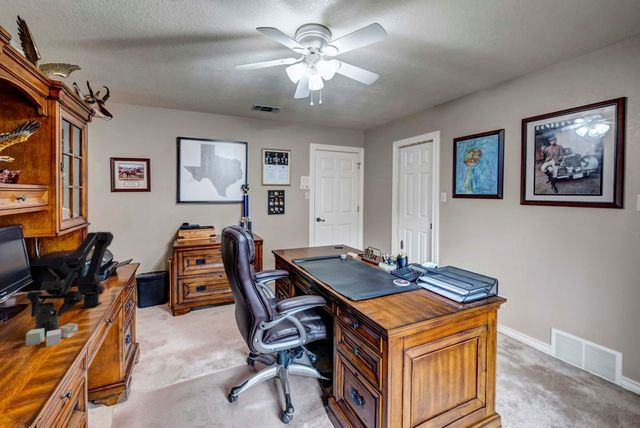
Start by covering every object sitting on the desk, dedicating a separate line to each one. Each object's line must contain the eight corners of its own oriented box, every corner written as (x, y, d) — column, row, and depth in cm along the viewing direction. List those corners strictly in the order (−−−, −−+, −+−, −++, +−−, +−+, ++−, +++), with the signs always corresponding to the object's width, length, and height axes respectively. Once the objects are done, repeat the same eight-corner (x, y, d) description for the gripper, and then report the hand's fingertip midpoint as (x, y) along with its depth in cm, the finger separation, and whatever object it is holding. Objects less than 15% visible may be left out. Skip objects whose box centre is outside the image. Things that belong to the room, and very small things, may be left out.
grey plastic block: (47, 341, 114) (47, 331, 113) (60, 338, 116) (60, 328, 116) (46, 346, 110) (46, 336, 110) (60, 343, 112) (60, 333, 112)
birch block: (68, 332, 121) (68, 323, 121) (77, 333, 121) (77, 323, 121) (59, 337, 117) (59, 327, 117) (68, 338, 117) (68, 328, 117)
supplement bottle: (56, 327, 125) (56, 299, 124) (59, 332, 121) (59, 304, 120) (34, 333, 120) (33, 304, 119) (36, 338, 115) (36, 308, 115)
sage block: (30, 341, 113) (30, 329, 113) (44, 339, 115) (44, 328, 115) (26, 346, 110) (25, 334, 110) (40, 344, 112) (39, 332, 111)
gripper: (28, 272, 122) (5, 308, 111) (79, 272, 125) (61, 307, 115) (43, 285, 130) (23, 320, 120) (90, 285, 133) (74, 319, 123)
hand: (45, 316), depth 119 cm, fingers open, 9 cm apart
